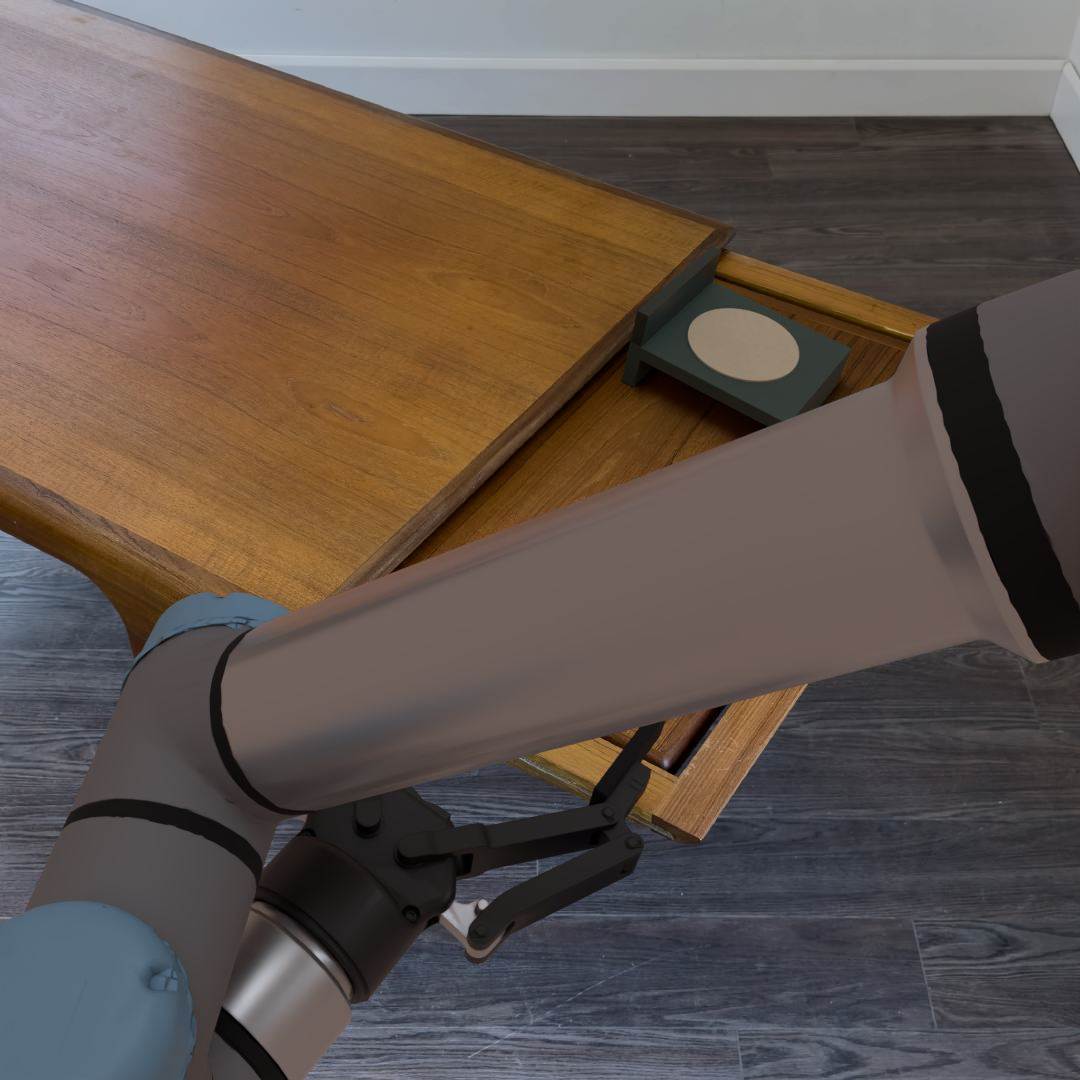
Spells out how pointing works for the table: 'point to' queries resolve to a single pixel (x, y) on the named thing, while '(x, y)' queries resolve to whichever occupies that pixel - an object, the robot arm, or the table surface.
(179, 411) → the table surface
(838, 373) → the coaster stand
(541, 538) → the robot arm
